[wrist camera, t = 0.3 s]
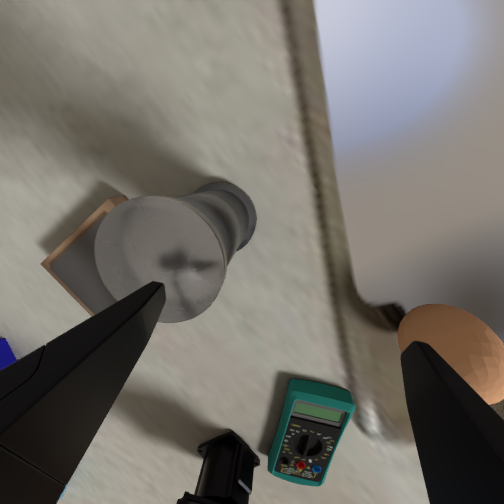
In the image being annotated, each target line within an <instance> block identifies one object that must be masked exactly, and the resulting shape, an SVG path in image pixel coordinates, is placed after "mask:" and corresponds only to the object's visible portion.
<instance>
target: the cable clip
mask: <svg viewBox="0 0 504 504" xmlns="http://www.w3.org/2000/svg"><path fill="white" fill-rule="evenodd" d="M16 361H17V360H16V358H15V356H14V354H13V352H12V350H11V348H10V346H9V345H8V343H7V341H6V339H5V338H2V339H0V370H1V369H3V368H5V367H7V366H9V365H10V364H12V363H14V362H16Z"/></svg>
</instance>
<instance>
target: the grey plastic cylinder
mask: <svg viewBox="0 0 504 504" xmlns="http://www.w3.org/2000/svg"><path fill="white" fill-rule="evenodd" d="M256 221H257V217H256V210H255V207H254V204H253V202H252V200H251V199H250V197H249V196H248V195H247V194H246V193H245V192H244V191H243V190H242V189H240V188H239V187H237V186H235V185H233V184H230V183H224V182H217V183H210V184H207V185H204V186H202V187H200V188H199V189H198V190H196V191H195V192H194V193H193V194H190V195H185V196H180V197H175V198H174V197H170V196H163V195H152V196H144V197H138V198H133V199H130V200H127V201H125V202H123V203H121V204H119V205H117V206H116V207H115V208H113V209H112V210H111V211H110V212H109V213H108V214H107V215H106V216H105V218H104V219H103V221H102V222H101V224H100V226H99V228H98V231H97V234H96V238H95V261H96V265H97V269H98V272H99V274H100V277H101V279H102V281H103V283H104V284H105V286H106V288H107V289H108V290H109V292H110V293H111V294H112V295H113V297H114V298H115V299H116V300H117V301H119V300H121V299H122V298H124V297H126V296H128V295H129V294H131V293H133V292H134V291H136V290H138V289H139V288H141V287H143V286H144V285H146V284H148V283H149V282H151V281H157V282H162V283H164V285H165V293H166V302H165V305H164V307H163V309H162V312H161V314H160V316H159V319H158V321H157V322H162V323H176V322H182V321H186V320H189V319H192V318H194V317H196V316H198V315H200V314H201V313H203V312H204V311H205V310H206V309H207V308H208V307H209V306H210V305H211V304H212V303H213V301H214V300H215V299H216V297H217V295H218V293H219V291H220V289H221V287H222V285H223V283H224V280H225V276H226V271H227V266H228V264H229V262H230V261H231V259H232V257H233V255H234V254H235V252H236V251H238V250H240V249H242V248H243V247H244V246H245V245H246V244H247V243H248V242H249V240H250V239H251V237H252V235H253V233H254V231H255V227H256Z"/></svg>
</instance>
